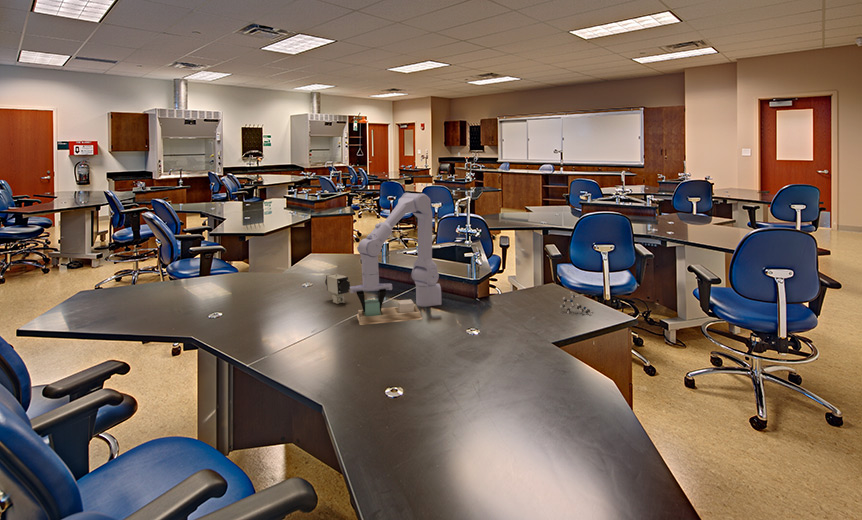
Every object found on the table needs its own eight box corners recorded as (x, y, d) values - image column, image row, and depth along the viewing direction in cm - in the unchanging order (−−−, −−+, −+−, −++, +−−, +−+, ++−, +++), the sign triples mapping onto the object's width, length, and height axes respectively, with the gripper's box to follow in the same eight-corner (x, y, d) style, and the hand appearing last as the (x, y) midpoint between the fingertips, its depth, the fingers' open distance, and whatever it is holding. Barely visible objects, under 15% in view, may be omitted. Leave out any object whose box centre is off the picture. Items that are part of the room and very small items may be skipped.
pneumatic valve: (341, 306, 195) (339, 277, 193) (325, 301, 204) (324, 272, 201) (353, 304, 199) (351, 274, 196) (337, 298, 207) (336, 270, 205)
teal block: (378, 312, 179) (377, 299, 178) (380, 316, 175) (379, 302, 174) (364, 313, 178) (363, 300, 177) (365, 317, 173) (365, 303, 173)
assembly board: (416, 312, 186) (416, 304, 185) (423, 322, 175) (423, 313, 174) (356, 317, 181) (356, 309, 181) (360, 328, 170) (359, 319, 169)
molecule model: (591, 323, 177) (599, 302, 177) (559, 309, 179) (567, 289, 179) (588, 322, 183) (596, 302, 184) (556, 309, 185) (565, 289, 185)
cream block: (411, 312, 182) (411, 299, 181) (414, 316, 177) (413, 303, 176) (397, 313, 181) (397, 300, 180) (400, 317, 176) (399, 304, 175)
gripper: (389, 269, 179) (390, 305, 181) (348, 272, 175) (350, 309, 178) (392, 273, 172) (393, 311, 175) (349, 276, 169) (352, 315, 171)
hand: (372, 310), depth 176 cm, fingers closed on teal block, 5 cm apart
